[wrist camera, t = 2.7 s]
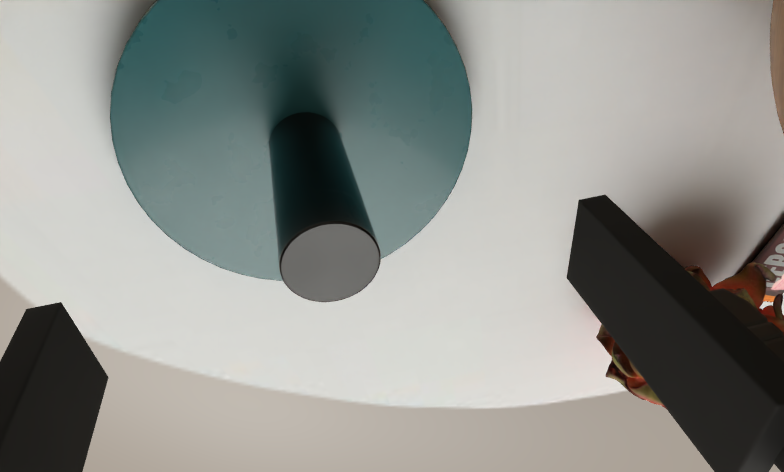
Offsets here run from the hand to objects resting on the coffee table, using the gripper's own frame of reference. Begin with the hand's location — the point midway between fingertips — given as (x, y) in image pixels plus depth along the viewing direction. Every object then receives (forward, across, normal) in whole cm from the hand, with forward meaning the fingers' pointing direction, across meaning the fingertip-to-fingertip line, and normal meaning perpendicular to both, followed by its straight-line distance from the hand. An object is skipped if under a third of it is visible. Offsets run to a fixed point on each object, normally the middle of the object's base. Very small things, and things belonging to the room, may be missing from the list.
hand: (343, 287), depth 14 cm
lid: (+9, 0, 0) cm, 9 cm away
